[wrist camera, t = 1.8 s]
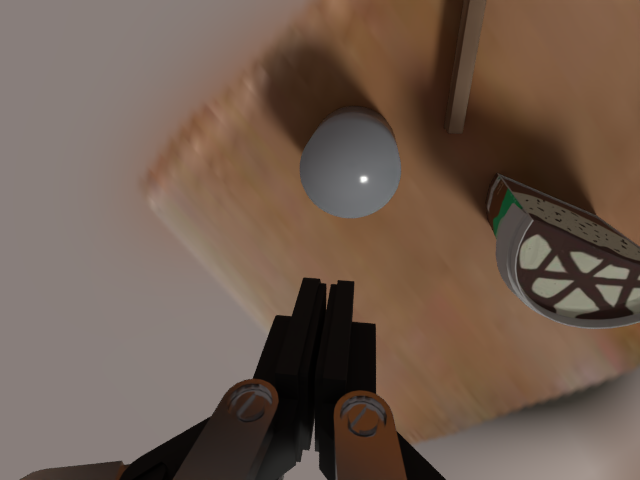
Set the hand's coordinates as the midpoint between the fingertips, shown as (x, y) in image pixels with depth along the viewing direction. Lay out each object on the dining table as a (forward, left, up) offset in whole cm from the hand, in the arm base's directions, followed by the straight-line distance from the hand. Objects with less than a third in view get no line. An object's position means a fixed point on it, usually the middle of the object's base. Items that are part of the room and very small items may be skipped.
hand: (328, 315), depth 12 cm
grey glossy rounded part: (0, 0, -21) cm, 21 cm away
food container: (-15, +6, -21) cm, 27 cm away
